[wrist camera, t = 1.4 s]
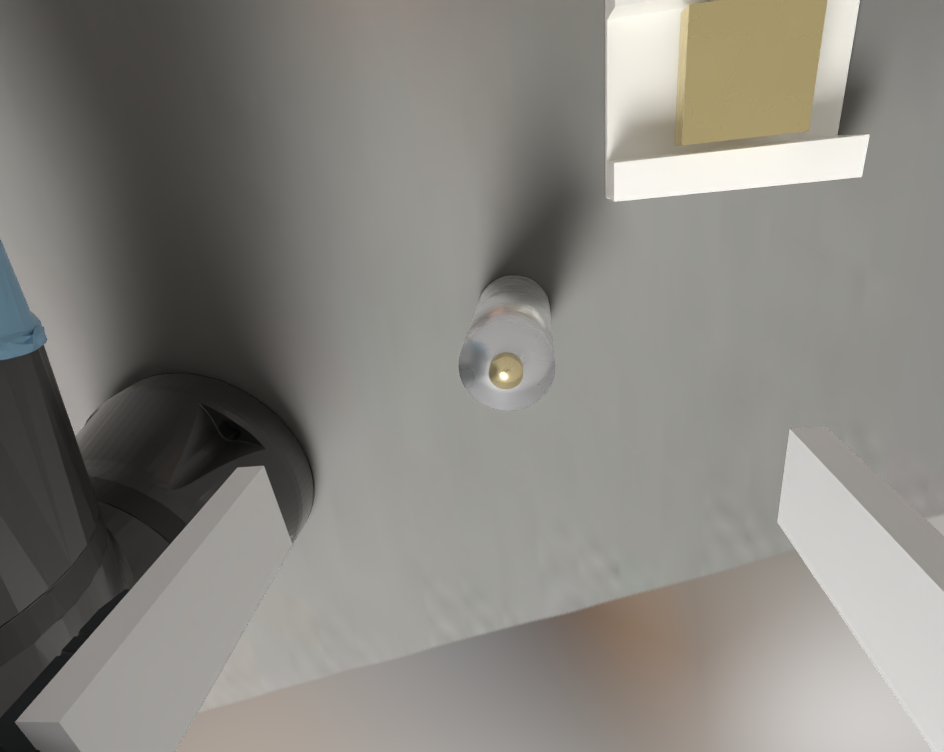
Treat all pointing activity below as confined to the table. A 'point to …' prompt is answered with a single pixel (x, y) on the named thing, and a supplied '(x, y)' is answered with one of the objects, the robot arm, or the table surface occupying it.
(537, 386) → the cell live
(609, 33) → the cradle
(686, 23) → the tan flat square block
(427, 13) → the table surface
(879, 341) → the table surface
